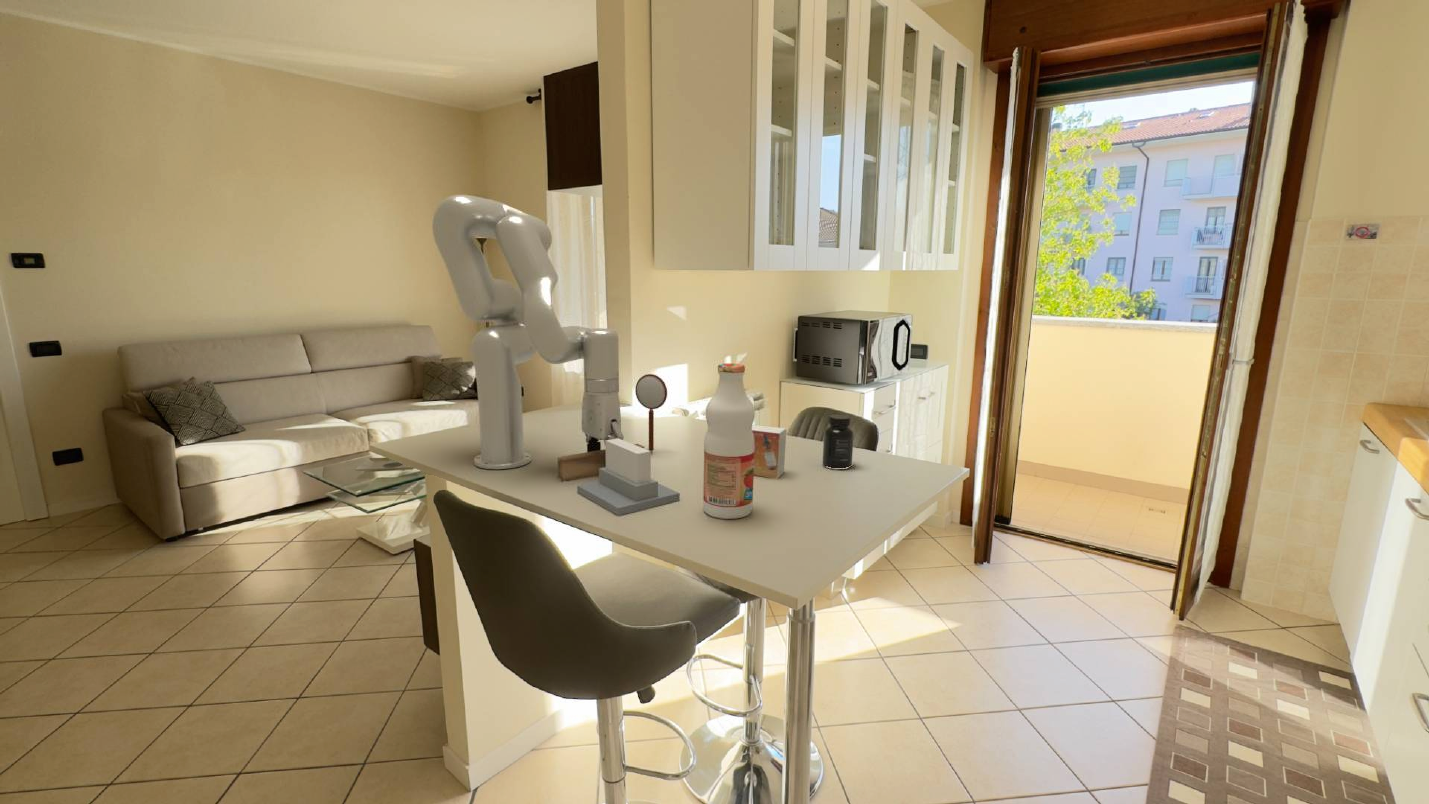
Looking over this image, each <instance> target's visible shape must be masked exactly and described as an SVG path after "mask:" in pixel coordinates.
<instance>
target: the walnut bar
mask: <svg viewBox="0 0 1429 804" xmlns="http://www.w3.org/2000/svg"><path fill="white" fill-rule="evenodd" d="M634 445H636V446H639V447H641V448H644V449H645V446H643V445H641V444H640V443H634ZM605 451H606V448H605V449H601V450H598V451H592V452H587V451H586V452H582V453H575V454H574V453H573V454H569V455H563V456H558V457H557V475H558V476H557V479H559V478H560V479H561V480H560V479H559V480H560V481H562V482H564V481H566V482H570V481H571V480H572V481H576V480H581V479H586V478H592V477H596V476H598V477H599V468H604V467H605ZM572 481H571V482H572Z"/></svg>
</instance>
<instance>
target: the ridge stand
mask: <svg viewBox="0 0 1429 804" xmlns="http://www.w3.org/2000/svg"><path fill="white" fill-rule="evenodd" d="M634 444H635V443H634ZM634 444H633V443H630V442H629V441H626V440H624V439H623V440H621V439H619V438H617V439H611V440H605V443H604V446H605V449H606V467H604V468H599V475H598V477H599V478H598V480H597V481H591V482H587V483H583V484H577V485H576V493H577V492H578V494H579V495H581V496H583V497H584V498H586V499H588V500H589V501H592V502H594V504H597V505H598V506H600V507H602V508H603V509H605V510H607V511H609V512H611V513H613V514H614V515H616V516H618V517H619V516H623V515H628V514H631V513H635V512H638V511H639V512H640V511H643V510H647V509H652V508H655V507H658V506H659V507H660V506H662V505H663V506H664V505H666V504H671V503H675V502H678V501H680V497H681V496H680V495H681V494H680V492H679V491H675V490H673V489H671V488H670V487H667V486H664V485H662V484H661V483H659V481H658V480H655V479H653V478H652V476H651V475H652V473H651V472H652V471H651V470H652V467H651V466H652V465H651V464H652V463H651V462H652V459H651V458H652V454H651V451H650V450H649V449H646V448H645V447H644V448H641V447H639V446H636V445H634Z"/></svg>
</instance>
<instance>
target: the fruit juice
mask: <svg viewBox="0 0 1429 804" xmlns="http://www.w3.org/2000/svg"><path fill="white" fill-rule="evenodd" d="M745 370H746V367H745V365H744V364H741V363H730V362H729V363H727V362H726V363H720V364H718V366H717V373H718V375H719V379H718V384H717V387H716V390H715V392H714V395H713V397H711V399H710V400H709V402H707V405H706V407H705V420H706V423H707V429H706V431H705V435H704V440H703V441H704V443H703V483H702V485H703V488H702V489H703V490H702V491H703V492H702V494H703V495H702V497H703V498H702V505H703V511H704V513H706V514H707V516H710V517H714V518H717V519H721V520H722V519H723V520H734V519H736V520H737V519H741V518H745V517H747V516H749V515H750V514H751V513H752V510H753V502H754V501H753V500H754V496H753V495H754V476H755V475H754V450H755V442H754V435H753V432H752V425H754V421H755V416H756V413H755V412H756V411H755V407H754V404H753V402H752V401H751V400H750V398H749V397H748V394H747V393H746V389H745V385H744V379H743V378H744V375H745Z"/></svg>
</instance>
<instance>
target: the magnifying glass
mask: <svg viewBox="0 0 1429 804" xmlns="http://www.w3.org/2000/svg"><path fill="white" fill-rule="evenodd" d="M635 397H636V399H637V401H638V402H639V404H641V406H642V407H644V408H646V409H649V410H648V450H649V451H651V455H652V454H653V453H654V452H653V451H654V449H655V447H654V441H655V439H654V438H655V437H654V434H655V433H654V429H655V428H654V425H655V424H654V422H655V421H654V418H655V417H654V416H655V415H654V410H657V409H660V408H661V407H663V405H664V404H665V403H666V401H667V397H668V388H667V386H666V383H665V381H664V380H663V379H662V378H661V377H660V376H658V375H656V374H653V373H647V374H644V375H642V376H641V377H640V378H639V379H638V380H637V383H636V384H635Z"/></svg>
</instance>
